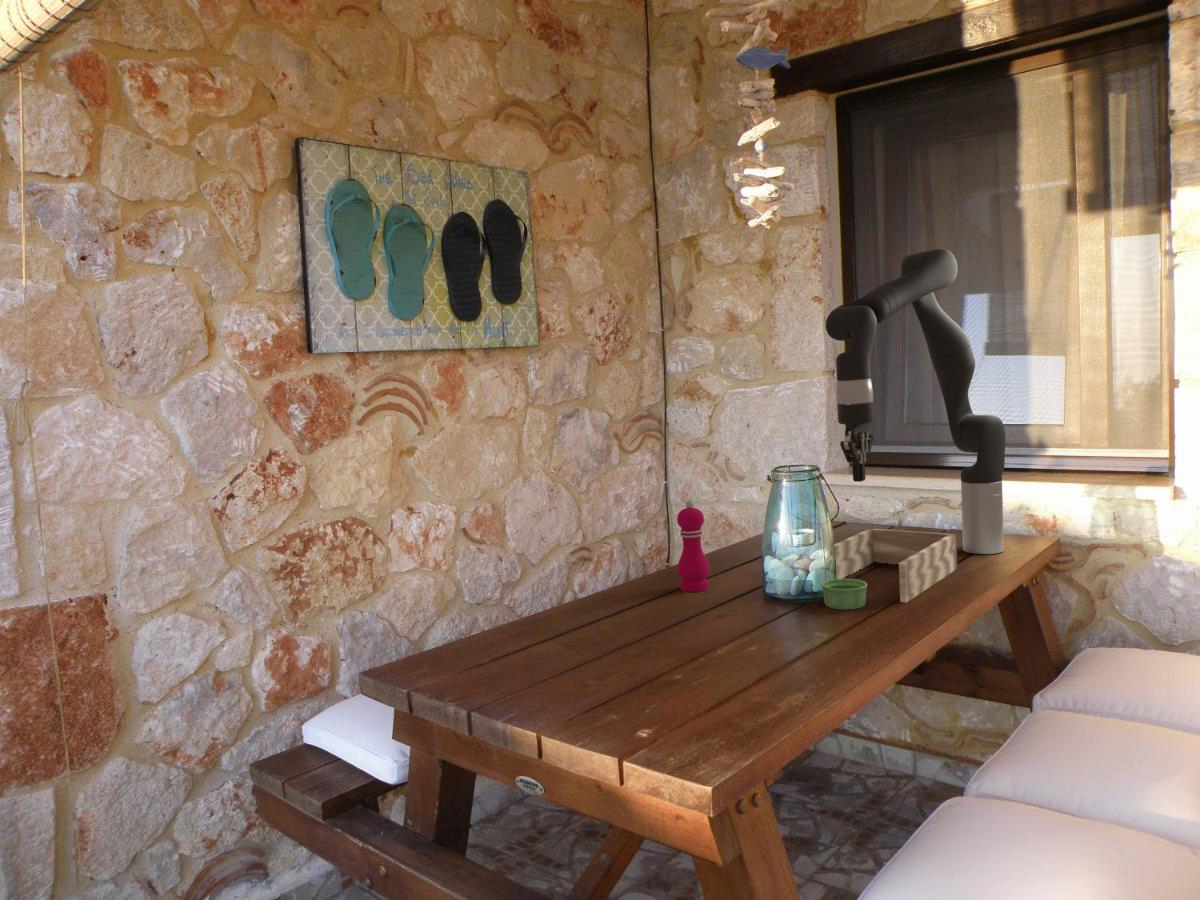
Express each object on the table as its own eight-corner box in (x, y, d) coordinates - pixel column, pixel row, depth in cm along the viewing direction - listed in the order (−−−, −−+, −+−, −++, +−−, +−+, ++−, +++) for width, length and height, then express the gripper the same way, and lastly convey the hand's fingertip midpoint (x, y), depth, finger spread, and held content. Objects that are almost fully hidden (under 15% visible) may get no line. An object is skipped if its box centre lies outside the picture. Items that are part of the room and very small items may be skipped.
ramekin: (874, 609, 180) (873, 587, 179) (828, 612, 180) (827, 590, 179) (860, 597, 189) (859, 577, 188) (817, 600, 189) (816, 579, 188)
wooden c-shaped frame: (870, 561, 220) (869, 528, 219) (957, 568, 207) (956, 534, 206) (812, 592, 195) (810, 555, 194) (906, 602, 182) (904, 563, 181)
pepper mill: (710, 584, 208) (705, 497, 206) (711, 592, 201) (706, 502, 199) (678, 585, 208) (673, 499, 207) (678, 593, 201) (673, 504, 199)
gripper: (850, 398, 201) (854, 476, 203) (825, 404, 191) (830, 485, 193) (883, 397, 197) (887, 476, 199) (860, 403, 186) (864, 486, 188)
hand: (859, 480), depth 196 cm, fingers closed
